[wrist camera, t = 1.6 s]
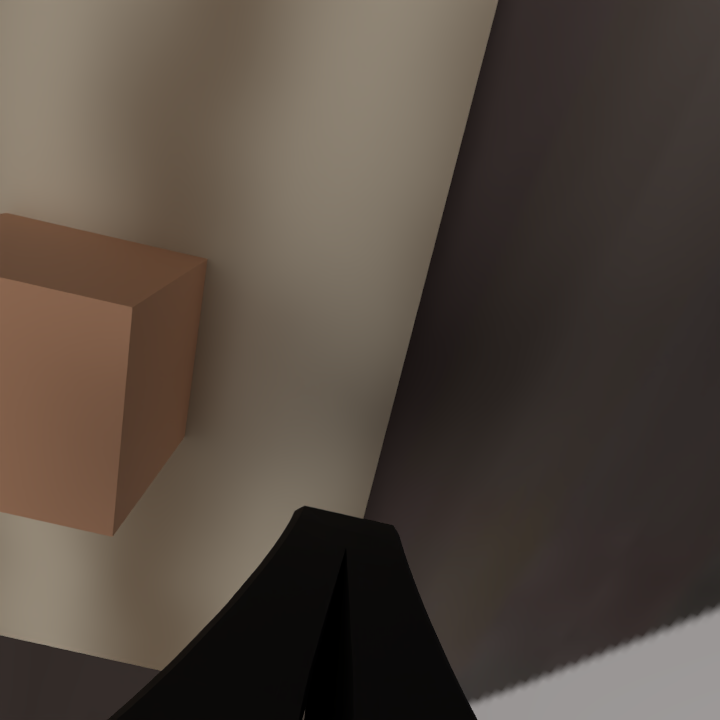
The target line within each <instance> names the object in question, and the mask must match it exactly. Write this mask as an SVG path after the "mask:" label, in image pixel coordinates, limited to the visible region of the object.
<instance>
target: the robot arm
mask: <svg viewBox="0 0 720 720" xmlns="http://www.w3.org/2000/svg"><path fill="white" fill-rule="evenodd" d="M305 707H306V708H305ZM304 711H305V718H304V720H477V718H476V716H475V714H474V712H473V710H472V708H471V707H470V705H469V703H468V701H467V699H466V697H465V695H464V693H463V691H462V689H461V687H460V685H459V683H458V681H457V679H456V676H455V674H454V672H453V670H452V668H451V666H450V664H449V662H448V659H447V657H446V655H445V653H444V650H443V648H442V646H441V644H440V642H439V639H438V637H437V635H436V633H435V630H434V628H433V626H432V624H431V621H430V619H429V617H428V614H427V612H426V609H425V607H424V605H423V602H422V600H421V597H420V594H419V592H418V589H417V587H416V584H415V581H414V579H413V576H412V573H411V571H410V568H409V565H408V562H407V559H406V556H405V553H404V550H403V547H402V544H401V540H400V537H399V534H398V532H397V531H396V529H395V528H394V526H393V525H389V524H385V523H380V522H376V521H371V520H367V519H362V518H358V517H353V516H349V515H345V514H340V513H336V512H331V511H327V510H322V509H318V508H313V507H309V506H303V507H301V508H299V509H297V510H295V511H294V513H293V515H292V518H291V520H290V521H289V523H288V525H287V526H286V528H285V530H284V531H283V533H282V534H281V536H280V537H279V539H278V540H277V542H276V543H275V545H274V546H273V547H272V549H271V550H270V551H269V553H268V554H267V555H266V557H265V558H264V559H263V561H262V562H261V563H260V565H259V566H258V567H257V568H256V570H255V571H254V572H253V573H252V574H251V575H250V577H249V578H248V579H247V580H246V581H245V583H244V584H243V585H242V586H241V587H240V589H239V590H238V591H237V592H236V593H235V594H234V596H233V597H232V598H231V599H230V600H229V602H228V603H227V604H226V605H225V606H224V607H223V608H222V609H221V611H220V612H219V613H218V614H217V615H216V616H215V617H214V618H213V619H212V620H211V621H210V622H209V623H208V624H207V625H206V626H205V627H204V628H203V629H202V630H201V631H200V632H199V633H198V634H197V636H196V637H195V638H194V639H193V640H192V641H191V642H190V643H189V644H188V645H187V646H186V647H185V648H184V649H183V650H182V651H181V652H180V653H179V654H178V655H177V656H176V657H175V658H174V659H173V660H172V661H171V662H170V663H169V664H168V665H167V666H166V667H165V668H164V669H163V670H162V671H161V672H160V673H159V674H158V675H157V676H156V677H154V678H153V679H152V680H151V681H150V682H149V683H148V684H147V685H146V686H145V687H144V688H143V689H142V690H141V691H139V692H138V693H137V694H136V695H135V696H134V697H133V698H132V699H131V700H130V701H128V702H127V703H126V704H125V705H124V706H123V707H122V708H120V709H119V710H118V711H117V712H116V713H115V714H114V715H113V716H111V717H110V718H109V719H108V720H302V718H303V715H304Z"/></svg>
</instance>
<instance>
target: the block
mask: <svg viewBox="0 0 720 720" xmlns="http://www.w3.org/2000/svg"><path fill="white" fill-rule="evenodd" d="M207 260H208V259H206V258H201V257H197V256H193V255H188V254H184V253H180V252H175V251H171V250H167V249H162V248H158V247H153V246H149V245H145V244H140V243H136V242H132V241H127V240H123V239H119V238H114V237H110V236H105V235H101V234H97V233H92V232H88V231H84V230H79V229H75V228H71V227H66V226H62V225H57V224H53V223H49V222H44V221H40V220H36V219H31V218H27V217H23V216H18V215H14V214H9V213H3V214H0V512H3V513H8V514H12V515H17V516H21V517H26V518H30V519H35V520H39V521H43V522H48V523H52V524H57V525H61V526H66V527H70V528H75V529H79V530H84V531H88V532H93V533H97V534H102V535H106V536H111V537H113V536H114V534H115V533H116V531H117V530H118V529H119V527H120V526H121V524H122V523H123V522H124V520H125V519H126V517H127V516H128V515H129V513H130V512H131V511H132V509H133V508H134V506H135V505H136V504H137V502H138V501H139V499H140V498H141V497H142V495H143V494H144V492H145V491H146V490H147V488H148V487H149V486H150V484H151V483H152V481H153V480H154V479H155V477H156V476H157V474H158V473H159V472H160V470H161V469H162V468H163V466H164V465H165V463H166V462H167V461H168V459H169V458H170V456H171V455H172V454H173V452H174V451H175V449H176V448H177V447H178V445H179V444H180V443H181V441H182V440H183V438H184V437H185V430H186V422H187V415H188V407H189V399H190V391H191V384H192V376H193V368H194V360H195V353H196V345H197V337H198V329H199V322H200V314H201V306H202V298H203V291H204V283H205V275H206V267H207Z"/></svg>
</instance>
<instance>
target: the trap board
mask: <svg viewBox="0 0 720 720" xmlns="http://www.w3.org/2000/svg"><path fill="white" fill-rule="evenodd" d="M497 3H498V0H0V214H3V213H9V214H14V215H18V216H23V217H27V218H31V219H36V220H40V221H44V222H49V223H53V224H57V225H62V226H66V227H71V228H75V229H79V230H84V231H88V232H92V233H97V234H101V235H105V236H110V237H114V238H119V239H123V240H127V241H132V242H136V243H140V244H145V245H149V246H153V247H158V248H162V249H167V250H171V251H175V252H180V253H184V254H188V255H193V256H197V257H201V258H206V259H208V260H207V267H206V275H205V283H204V291H203V298H202V306H201V314H200V322H199V329H198V337H197V345H196V353H195V360H194V368H193V376H192V384H191V391H190V399H189V407H188V415H187V422H186V430H185V437H184V438H183V440H182V441H181V443H180V444H179V445H178V447H177V448H176V449H175V451H174V452H173V454H172V455H171V456H170V458H169V459H168V461H167V462H166V463H165V465H164V466H163V468H162V469H161V470H160V472H159V473H158V474H157V476H156V477H155V479H154V480H153V481H152V483H151V484H150V486H149V487H148V488H147V490H146V491H145V492H144V494H143V495H142V497H141V498H140V499H139V501H138V502H137V504H136V505H135V506H134V508H133V509H132V511H131V512H130V513H129V515H128V516H127V517H126V519H125V520H124V522H123V523H122V524H121V526H120V527H119V529H118V530H117V531H116V533H115V534H114V536H113V537H111V536H106V535H102V534H97V533H93V532H88V531H84V530H79V529H75V528H70V527H66V526H61V525H57V524H52V523H48V522H43V521H39V520H35V519H30V518H26V517H21V516H17V515H12V514H8V513H3V512H0V635H2V636H7V637H11V638H16V639H20V640H25V641H29V642H34V643H38V644H43V645H47V646H52V647H56V648H61V649H65V650H70V651H74V652H79V653H84V654H88V655H93V656H97V657H102V658H106V659H111V660H115V661H120V662H124V663H129V664H133V665H138V666H142V667H147V668H151V669H156V670H160V671H162V670H163V669H164V668H165V667H166V666H167V665H168V664H169V663H170V662H171V661H172V660H173V659H174V658H175V657H176V656H177V655H178V654H179V653H180V652H181V651H182V650H183V649H184V648H185V647H186V646H187V645H188V644H189V643H190V642H191V641H192V640H193V639H194V638H195V637H196V636H197V634H198V633H199V632H200V631H201V630H202V629H203V628H204V627H205V626H206V625H207V624H208V623H209V622H210V621H211V620H212V619H213V618H214V617H215V616H216V615H217V614H218V613H219V612H220V611H221V609H222V608H223V607H224V606H225V605H226V604H227V603H228V602H229V600H230V599H231V598H232V597H233V596H234V594H235V593H236V592H237V591H238V590H239V589H240V587H241V586H242V585H243V584H244V583H245V581H246V580H247V579H248V578H249V577H250V575H251V574H252V573H253V572H254V571H255V570H256V568H257V567H258V566H259V565H260V563H261V562H262V561H263V559H264V558H265V557H266V555H267V554H268V553H269V551H270V550H271V549H272V547H273V546H274V545H275V543H276V542H277V540H278V539H279V537H280V536H281V534H282V533H283V531H284V530H285V528H286V526H287V525H288V523H289V521H290V520H291V518H292V515H293V513H294V511H295V510H297V509H299V508H301V507H303V506H309V507H313V508H318V509H322V510H327V511H331V512H336V513H340V514H345V515H349V516H353V517H358V518H362V519H363V518H364V514H365V510H366V506H367V502H368V498H369V495H370V491H371V487H372V483H373V479H374V475H375V472H376V468H377V464H378V460H379V456H380V452H381V449H382V445H383V441H384V437H385V433H386V429H387V425H388V422H389V418H390V414H391V410H392V406H393V402H394V399H395V395H396V391H397V387H398V383H399V379H400V376H401V372H402V368H403V364H404V360H405V356H406V353H407V349H408V345H409V341H410V337H411V333H412V329H413V326H414V322H415V318H416V314H417V310H418V306H419V303H420V299H421V295H422V291H423V287H424V283H425V280H426V276H427V272H428V268H429V264H430V260H431V257H432V253H433V249H434V245H435V241H436V237H437V233H438V230H439V226H440V222H441V218H442V214H443V210H444V207H445V203H446V199H447V195H448V191H449V187H450V184H451V180H452V176H453V172H454V168H455V164H456V161H457V157H458V153H459V149H460V145H461V141H462V137H463V134H464V130H465V126H466V122H467V118H468V114H469V111H470V107H471V103H472V99H473V95H474V91H475V88H476V84H477V80H478V76H479V72H480V68H481V65H482V61H483V57H484V53H485V49H486V45H487V41H488V38H489V34H490V30H491V26H492V22H493V18H494V15H495V11H496V7H497Z"/></svg>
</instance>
